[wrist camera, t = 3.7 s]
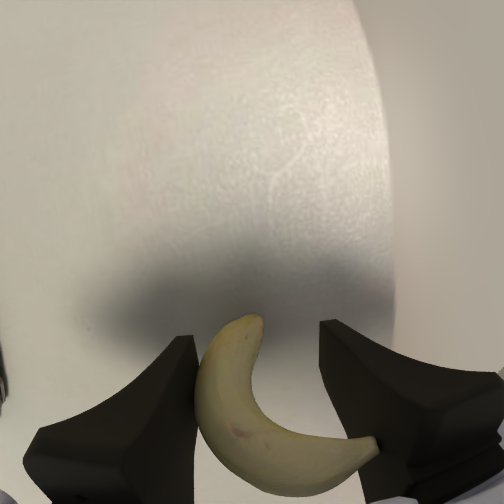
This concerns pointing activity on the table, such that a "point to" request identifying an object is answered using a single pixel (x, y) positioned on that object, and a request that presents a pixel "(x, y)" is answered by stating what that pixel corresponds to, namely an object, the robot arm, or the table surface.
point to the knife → (2, 392)
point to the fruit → (264, 424)
